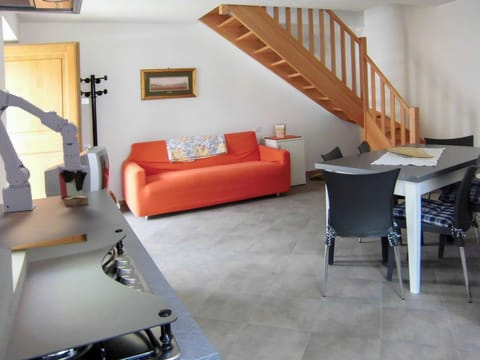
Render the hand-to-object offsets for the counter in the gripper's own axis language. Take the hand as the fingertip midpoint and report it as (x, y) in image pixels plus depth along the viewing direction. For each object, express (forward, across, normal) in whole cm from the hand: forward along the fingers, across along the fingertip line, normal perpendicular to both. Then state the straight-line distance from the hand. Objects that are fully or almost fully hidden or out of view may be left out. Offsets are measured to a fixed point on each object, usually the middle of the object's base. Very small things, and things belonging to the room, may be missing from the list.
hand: (75, 190), depth 162 cm
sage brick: (+2, 0, 0) cm, 2 cm away
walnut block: (+6, 0, 0) cm, 6 cm away
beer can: (+6, +14, -10) cm, 19 cm away
